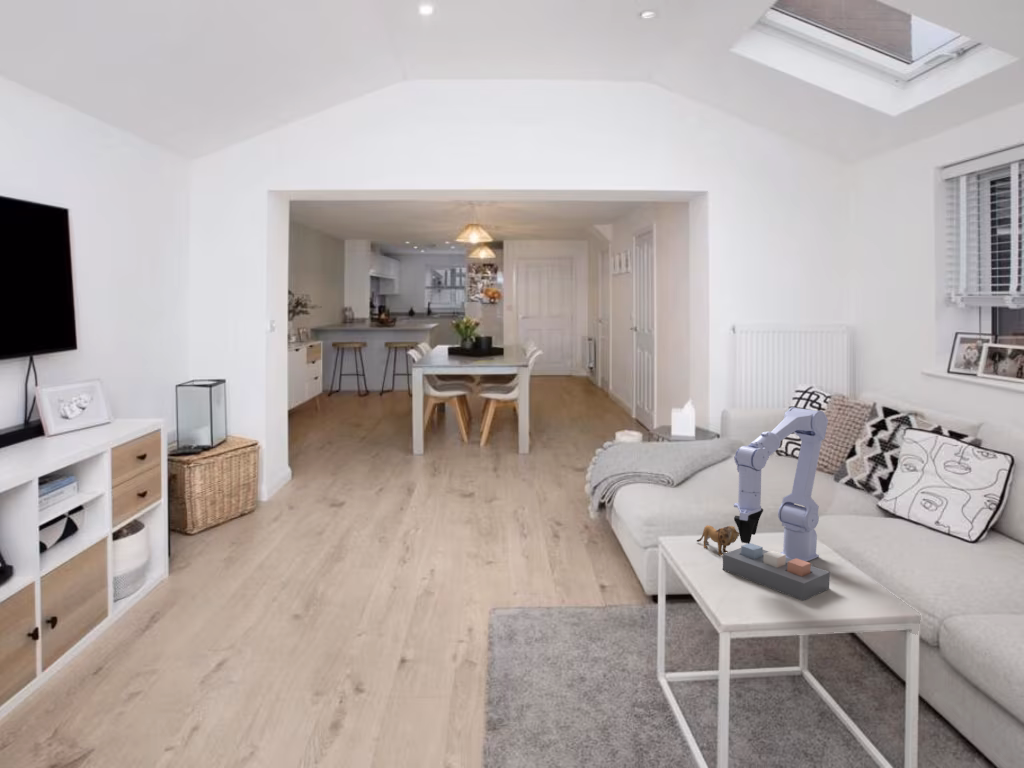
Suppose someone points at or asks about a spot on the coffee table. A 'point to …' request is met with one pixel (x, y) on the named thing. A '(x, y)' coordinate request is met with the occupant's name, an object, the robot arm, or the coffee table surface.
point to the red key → (799, 567)
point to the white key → (774, 559)
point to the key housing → (777, 575)
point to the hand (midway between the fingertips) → (748, 538)
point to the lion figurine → (720, 536)
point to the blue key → (751, 551)
